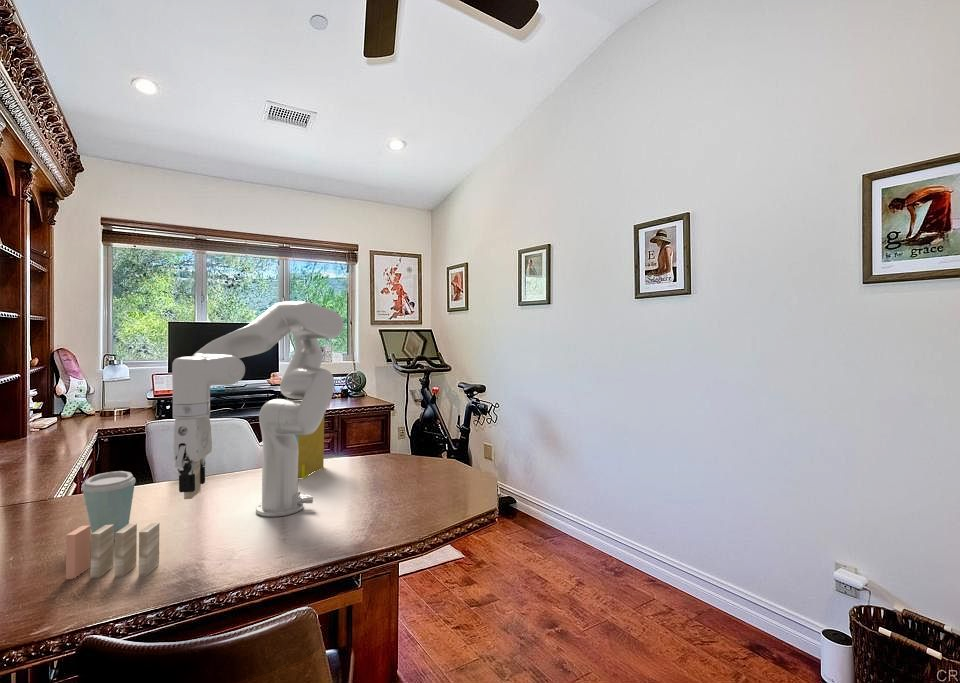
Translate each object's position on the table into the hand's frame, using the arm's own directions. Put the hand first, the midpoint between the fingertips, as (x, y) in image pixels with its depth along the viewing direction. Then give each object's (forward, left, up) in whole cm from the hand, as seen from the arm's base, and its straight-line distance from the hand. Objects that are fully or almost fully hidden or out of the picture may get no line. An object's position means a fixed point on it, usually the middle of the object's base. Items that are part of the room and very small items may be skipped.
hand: (192, 486), depth 116 cm
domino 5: (0, 0, -2) cm, 2 cm away
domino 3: (+9, +10, -14) cm, 20 cm away
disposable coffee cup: (+22, -9, -14) cm, 28 cm away
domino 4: (+4, +10, -14) cm, 18 cm away
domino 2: (+13, +10, -14) cm, 22 cm away
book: (-14, -65, -14) cm, 68 cm away
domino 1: (+18, +10, -14) cm, 25 cm away
